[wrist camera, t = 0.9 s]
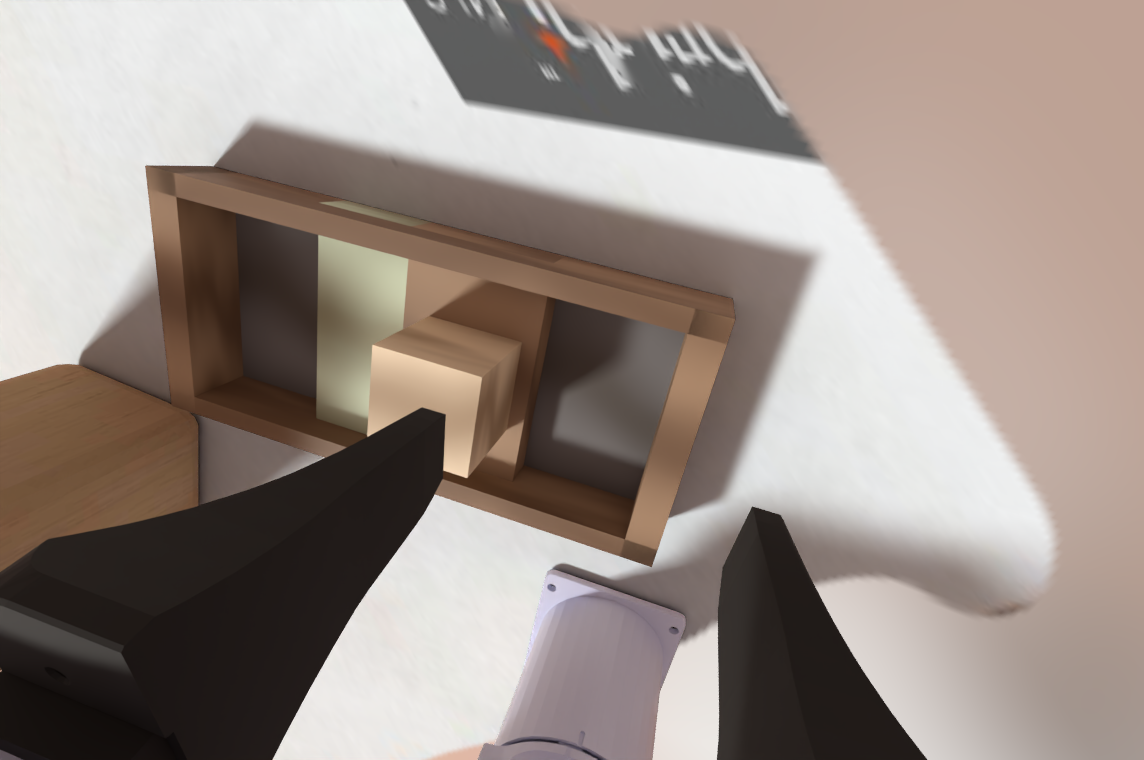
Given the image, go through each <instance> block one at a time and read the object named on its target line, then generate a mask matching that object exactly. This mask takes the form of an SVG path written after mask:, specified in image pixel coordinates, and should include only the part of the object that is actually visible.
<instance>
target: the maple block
mask: <svg viewBox="0 0 1144 760" xmlns="http://www.w3.org/2000/svg"><path fill="white" fill-rule="evenodd" d="M521 345H522V342H519V341H516V340H512V339H508V338H505V337H501V336H498V335H494V334H491V333H487V332H484V331H480V330H477V329H473V328H470V327H466V326H463V325H459V324H456V323H452V322H448V321H445V320H441V319H438V318H434V317H431V316H428V317H426V318H424V319H422V320H420V321H418V322H416V323H415V324H413V325H411V326H409V327H407V328H405V329H403V330H401V331H399V332H397V333H395V334H393V335H391V336H389V337H387V338H385V339H383V340H381V341H379V342H377V343H375V344H373V345H372V360H371V378H370V395H369V413H368V431H367V437H368V436H370V435H372V434H373V433H375V432H377V431H379V430H381V429H383V428H384V427H386V426H388V425H390V424H392V423H394V422H395V421H397V420H399V419H401V418H403V417H405V416H406V415H408V414H410V413H412V412H414V411H416V410H418V409H420V408H421V407H423V408H426V409H430V410H433V411H436V412H440V413H443V414H446V421H445V444H444V467H443V470H444V471H447V472H450V473H453V474H456V475H459V476H462V477H465V478H468V477H469V475H470V474H471V473H472V472H473V471H474V469H475V468H476V467H477V466H478V464H479V463H480V462H481V461H482V459H483V458H484V457H485V456H486V455H487V453H488V452H489V451H490V450H491V448H492V447H493V446H494V445H495V443H496V442H497V441H498V440H499V439H500V437H501V436H502V435H503V434H504V432H505V431H506V430H507V425H508V419H509V414H510V408H511V402H512V396H513V391H514V385H515V379H516V374H517V368H518V362H519V356H520V351H521Z"/></svg>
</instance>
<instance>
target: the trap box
mask: <svg viewBox="0 0 1144 760" xmlns="http://www.w3.org/2000/svg"><path fill="white" fill-rule="evenodd" d="M145 168H146V177H147V186H148V195H149V204H150V213H151V223H152V232H153V241H154V250H155V259H156V268H157V277H158V287H159V296H160V305H161V314H162V323H163V332H164V341H165V351H166V360H167V369H168V378H169V387H170V396H171V406H174V407H177V408H180V409H183V410H186V411H189V412H192V413H194V414H197V415H200V416H203V417H206V418H209V419H212V420H215V421H218V422H221V423H224V424H227V425H230V426H233V427H236V428H239V429H242V430H245V431H248V432H251V433H254V434H257V435H260V436H263V437H266V438H269V439H272V440H275V441H278V442H281V443H284V444H287V445H290V446H293V447H296V448H299V449H302V450H305V451H308V452H311V453H314V454H317V455H320V456H323V457H325V458H326V457H328V456H330V455H332V454H335V453H337V452H339V451H341V450H343V449H345V448H347V447H349V446H351V445H353V444H354V443H356V442H358V441H360V440H362V439H364V438H366V437H367V431H368V413H369V395H370V378H371V360H372V345H373V344H375V343H377V342H379V341H381V340H383V339H385V338H387V337H389V336H391V335H393V334H395V333H397V332H399V331H401V330H403V329H405V328H407V327H409V326H411V325H413V324H415V323H416V322H418V321H420V320H422V319H424V318H426V317H428V316H431V317H434V318H438V319H441V320H445V321H448V322H452V323H456V324H459V325H463V326H466V327H470V328H473V329H477V330H480V331H484V332H487V333H491V334H494V335H498V336H501V337H505V338H508V339H512V340H516V341H519V342H522V345H521V351H520V356H519V362H518V368H517V374H516V379H515V385H514V391H513V396H512V402H511V408H510V414H509V419H508V425H507V430H506V431H505V432H504V434H503V435H502V436H501V437H500V439H499V440H498V441H497V442H496V443H495V445H494V446H493V447H492V448H491V450H490V451H489V452H488V453H487V455H486V456H485V457H484V458H483V459H482V461H481V462H480V463H479V464H478V466H477V467H476V468H475V469H474V471H473V472H472V473H471V474H470V475H469V477H468V478H465V477H462V476H459V475H456V474H453V473H450V472H447V471H444V470H443V479H442V481H441V483H440V485H439V487H438V489H437V491H436V492H435V494H436V495H439V496H442V497H445V498H448V499H451V500H453V501H456V502H459V503H462V504H465V505H468V506H471V507H474V508H477V509H480V510H483V511H486V512H489V513H492V514H495V515H498V516H501V517H504V518H507V519H510V520H513V521H516V522H519V523H522V524H525V525H528V526H531V527H534V528H537V529H540V530H543V531H546V532H549V533H552V534H555V535H558V536H561V537H564V538H567V539H570V540H573V541H576V542H579V543H581V544H584V545H587V546H590V547H593V548H596V549H599V550H602V551H605V552H608V553H611V554H614V555H617V556H620V557H623V558H626V559H629V560H632V561H635V562H638V563H641V564H644V565H647V566H650V567H652V564H653V561H654V559H655V556H656V553H657V550H658V547H659V544H660V541H661V538H662V535H663V532H664V529H665V526H666V523H667V520H668V517H669V514H670V511H671V508H672V505H673V502H674V499H675V496H676V494H677V491H678V488H679V485H680V482H681V479H682V476H683V473H684V470H685V467H686V464H687V461H688V458H689V455H690V452H691V449H692V446H693V443H694V440H695V437H696V434H697V431H698V428H699V426H700V423H701V420H702V417H703V414H704V411H705V408H706V405H707V402H708V399H709V396H710V393H711V390H712V387H713V384H714V381H715V378H716V375H717V372H718V369H719V366H720V363H721V361H722V358H723V355H724V352H725V349H726V346H727V343H728V340H729V337H730V334H731V331H732V328H733V325H734V322H735V312H734V304H733V299H731V298H727V297H723V296H719V295H715V294H711V293H707V292H704V291H700V290H696V289H692V288H688V287H684V286H680V285H676V284H672V283H668V282H664V281H660V280H656V279H653V278H649V277H645V276H641V275H637V274H633V273H629V272H625V271H621V270H617V269H613V268H609V267H605V266H602V265H598V264H594V263H590V262H586V261H582V260H578V259H574V258H570V257H566V256H562V255H558V254H555V253H551V252H547V251H543V250H539V249H535V248H531V247H527V246H523V245H519V244H515V243H511V242H507V241H504V240H500V239H496V238H492V237H488V236H484V235H480V234H476V233H472V232H468V231H464V230H460V229H457V228H453V227H449V226H445V225H441V224H437V223H433V222H429V221H425V220H421V219H417V218H413V217H409V216H406V215H402V214H398V213H394V212H390V211H386V210H382V209H378V208H374V207H370V206H366V205H362V204H358V203H355V202H351V201H347V200H343V199H339V198H335V197H331V196H327V195H323V194H319V193H315V192H311V191H308V190H304V189H300V188H296V187H292V186H288V185H284V184H280V183H276V182H272V181H268V180H264V179H260V178H257V177H253V176H249V175H245V174H241V173H237V172H233V171H229V170H225V169H221V168H217V167H213V166H145Z"/></svg>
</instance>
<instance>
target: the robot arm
mask: <svg viewBox="0 0 1144 760" xmlns="http://www.w3.org/2000/svg"><path fill="white" fill-rule="evenodd" d="M445 421H446V414H443V413H440V412H436V411H433V410H430V409H426V408H423V407H421V408H420V409H418V410H416V411H414V412H412V413H410V414H408V415H406V416H405V417H403V418H401V419H399V420H397V421H395V422H394V423H392V424H390V425H388V426H386V427H384V428H383V429H381V430H379V431H377V432H375V433H373V434H372V435H370V436H368V437H366V438H364V439H362V440H360V441H358V442H356V443H354V444H353V445H351V446H349V447H347V448H345V449H343V450H341V451H339V452H337V453H335V454H332V455H330V456H328V457H326V458H324V459H322V460H320V461H318V462H315V463H313V464H311V465H309V466H307V467H305V468H303V469H300V470H298V471H296V472H293V473H291V474H289V475H286V476H284V477H281V478H279V479H276V480H273V481H271V482H268V483H266V484H263V485H260V486H258V487H255V488H252V489H249V490H246V491H244V492H240V493H237V494H234V495H231V496H228V497H225V498H221V499H218V500H215V501H212V502H209V503H206V504H202V505H199V506H196V507H192V508H189V509H185V510H181V511H178V512H174V513H170V514H166V515H162V516H158V517H154V518H150V519H146V520H142V521H138V522H133V523H129V524H124V525H119V526H114V527H109V528H104V529H99V530H94V531H88V532H83V533H78V534H73V535H67V536H62V537H56V538H50V539H47V540H46V541H44V542H43V543H41V544H40V545H38V546H37V547H35V548H34V549H33V550H31V551H30V552H28V553H27V554H25V555H24V556H23V557H21V558H20V559H18V560H17V561H15V562H14V563H12V564H11V565H10V566H8V567H7V568H5V569H4V570H2V571H1V572H0V668H1V669H2V671H1V672H0V760H272V759H273V757H274V755H275V753H276V751H277V749H278V747H279V746H280V744H281V742H282V740H283V738H284V736H285V734H286V732H287V730H288V728H289V726H290V725H291V723H292V721H293V719H294V717H295V715H296V713H297V711H298V710H299V708H300V706H301V704H302V702H303V700H304V698H305V696H306V695H307V693H308V691H309V689H310V687H311V685H312V684H313V682H314V680H315V678H316V677H317V675H318V673H319V671H320V669H321V668H322V666H323V664H324V662H325V661H326V659H327V657H328V655H329V654H330V652H331V650H332V648H333V646H334V645H335V643H336V641H337V640H338V638H339V636H340V635H341V633H342V631H343V630H344V628H345V626H346V624H347V623H348V621H349V619H350V618H351V616H352V614H353V613H354V611H355V609H356V608H357V606H358V605H359V603H360V602H361V600H362V599H363V597H364V596H365V594H366V593H367V591H368V590H369V588H370V587H371V586H372V584H373V583H374V582H375V580H376V579H377V578H378V576H379V575H380V573H381V572H382V571H383V569H384V568H385V567H386V565H387V564H388V563H389V561H390V560H391V558H392V557H393V556H394V554H395V553H396V552H397V550H398V549H399V547H400V546H401V545H402V543H403V542H404V541H405V539H406V538H407V536H408V535H409V534H410V532H411V531H412V530H413V528H414V527H415V525H416V524H417V523H418V521H419V520H420V518H421V517H422V516H423V514H424V512H425V511H426V509H427V507H428V505H429V503H430V502H431V500H432V498H433V496H434V494H435V492H436V491H437V489H438V487H439V485H440V483H441V481H442V479H443V467H444V444H445ZM550 584H553V585H555V587H553V586H551V585H550ZM671 627H676V628H677V629H673V628H671ZM685 627H686V618H685V616H684V615H683V614H681V613H679V612H676V611H673V610H670V609H667V608H665V607H662V606H659V605H656V604H653V603H650V602H647V601H644V600H641V599H639V598H636V597H633V596H630V595H627V594H624V593H621V592H618V591H615V590H613V589H610V588H607V587H604V586H601V585H598V584H595V583H592V582H589V581H587V580H584V579H581V578H578V577H575V576H572V575H569V574H566V573H563V572H561V571H558V570H550V571H548V572H547V574H546V577H545V580H544V584H543V589H542V593H541V597H540V601H539V605H538V610H537V614H536V618H535V622H534V627H533V631H532V635H531V639H530V643H529V648H528V652H527V656H526V660H525V664H524V669H523V672H522V675H521V677H520V680H519V682H518V685H517V687H516V690H515V693H514V695H513V698H512V700H511V703H510V706H509V708H508V711H507V713H506V716H505V718H504V721H503V724H502V726H501V729H500V731H499V734H498V737H497V739H496V742H495V744H494V745H492V744H488V743H485V744H484V745H483V748H482V750H481V752H480V755H479V758H478V760H652V758H653V748H654V739H655V730H656V721H657V712H658V703H659V693H660V690H661V688H662V685H663V683H664V680H665V678H666V675H667V672H668V670H669V667H670V665H671V662H672V660H673V657H674V655H675V652H676V650H677V647H678V645H679V642H680V639H681V637H682V634H683V632H684V629H685ZM718 659H719V660H718V662H719V742H718V754H717V760H927V759H926V758H925V756H924V755H923V754H922V752H921V751H920V750H919V748H918V747H917V746H916V745H915V743H914V742H913V741H912V739H911V738H910V737H909V736H908V734H907V733H906V732H905V730H904V729H903V728H902V726H901V725H900V724H899V722H898V721H897V719H896V718H895V717H894V715H893V714H892V713H891V711H890V710H889V708H888V707H887V706H886V704H885V703H884V701H883V700H882V698H881V697H880V695H879V694H878V692H877V691H876V689H875V688H874V686H873V685H872V684H871V682H870V681H869V679H868V678H867V676H866V675H865V673H864V672H863V670H862V669H861V667H860V665H859V664H858V662H857V661H856V659H855V658H854V656H853V654H852V653H851V651H850V649H849V647H848V646H847V644H846V642H845V641H844V639H843V637H842V636H841V634H840V633H839V630H838V629H837V627H836V625H835V623H834V622H833V620H832V618H831V616H830V614H829V612H828V611H827V609H826V607H825V605H824V603H823V602H822V599H821V597H820V595H819V593H818V591H817V590H816V588H815V586H814V584H813V582H812V580H811V578H810V576H809V574H808V572H807V570H806V568H805V565H804V563H803V561H802V559H801V557H800V555H799V553H798V551H797V549H796V546H795V544H794V542H793V540H792V538H791V536H790V533H789V531H788V529H787V527H786V525H785V523H784V520H783V519H782V517H781V515H779V514H775V513H772V512H769V511H765V510H762V509H759V508H755V507H752V508H751V510H750V512H749V514H748V516H747V519H746V521H745V523H744V525H743V527H742V529H741V531H740V533H739V535H738V537H737V539H736V541H735V543H734V545H733V547H732V550H731V552H730V554H729V556H728V558H727V560H726V562H725V564H724V566H723V571H722V579H721V587H720V597H719V607H718Z"/></svg>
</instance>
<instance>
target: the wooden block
mask: <svg viewBox="0 0 1144 760" xmlns="http://www.w3.org/2000/svg"><path fill="white" fill-rule="evenodd" d="M196 506H198V423H197V421H196V419H195V417H194V416H193V415H192V414H191V413H190V412H189V411H186V410H183V409H180V408H177V407H174V406H171V404H170V403H168V402H165V401H163V400H161V399H158V398H156V397H154V396H151V395H149V394H146V393H144V392H142V391H139V390H137V389H135V388H132V387H130V386H128V385H125V384H123V383H121V382H118V381H116V380H114V379H111V378H109V377H106V376H104V375H102V374H99V373H97V372H95V371H92V370H90V369H88V368H85V367H83V366H81V365H72V364H64V365H55V366H52V367H48V368H45V369H41V370H38V371H35V372H31V373H28V374H24V375H21V376H17V377H14V378H11V379H7V380H4V381H0V572H1V571H2V570H4V569H5V568H7V567H8V566H10V565H11V564H12V563H14V562H15V561H17V560H18V559H20V558H21V557H23V556H24V555H25V554H27V553H28V552H30V551H31V550H33V549H34V548H35V547H37V546H38V545H40V544H41V543H43V542H44V541H46V540H47V539H50V538H56V537H62V536H67V535H73V534H78V533H83V532H88V531H94V530H99V529H104V528H109V527H114V526H119V525H124V524H129V523H133V522H138V521H142V520H146V519H150V518H154V517H158V516H162V515H166V514H170V513H174V512H178V511H181V510H185V509H189V508H192V507H196ZM0 670H2V669H1V668H0Z"/></svg>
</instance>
